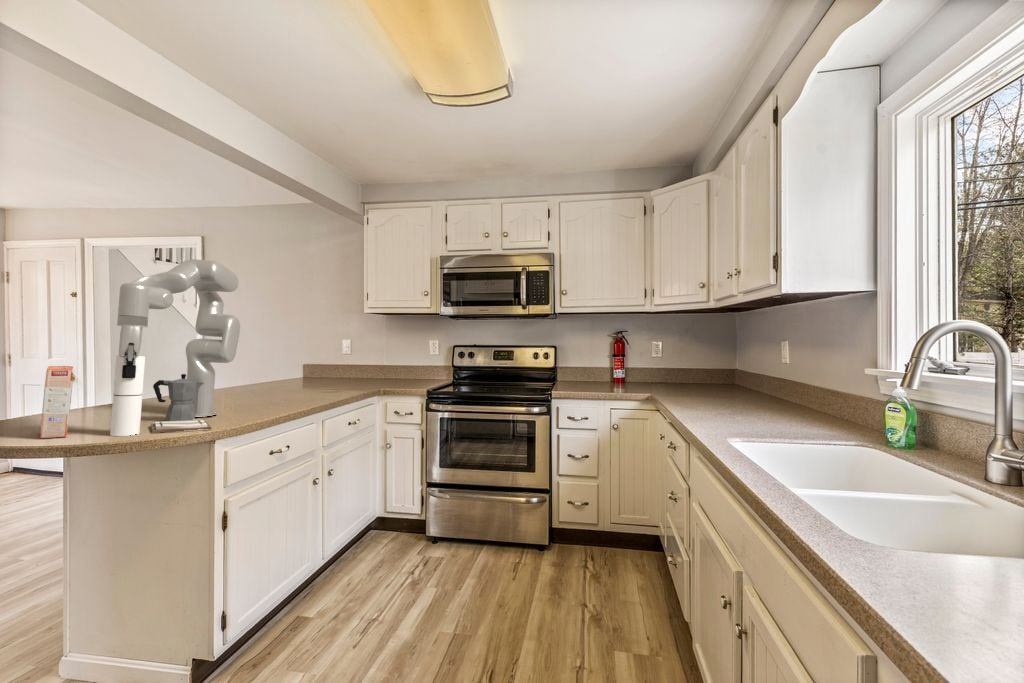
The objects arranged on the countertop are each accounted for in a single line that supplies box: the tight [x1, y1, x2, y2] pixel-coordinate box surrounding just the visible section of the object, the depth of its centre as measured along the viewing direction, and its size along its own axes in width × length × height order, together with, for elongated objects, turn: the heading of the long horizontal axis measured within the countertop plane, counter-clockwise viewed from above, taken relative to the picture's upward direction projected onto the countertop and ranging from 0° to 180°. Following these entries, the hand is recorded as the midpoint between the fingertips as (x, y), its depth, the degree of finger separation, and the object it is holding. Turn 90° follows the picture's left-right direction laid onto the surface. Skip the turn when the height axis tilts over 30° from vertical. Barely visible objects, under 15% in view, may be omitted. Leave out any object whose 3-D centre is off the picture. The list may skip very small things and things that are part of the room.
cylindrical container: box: [109, 355, 146, 437], centre depth 143 cm, size 7×7×25 cm
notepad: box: [150, 419, 212, 434], centre depth 157 cm, size 14×16×2 cm
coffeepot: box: [152, 373, 204, 421], centre depth 169 cm, size 15×9×18 cm, turn 129°
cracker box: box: [39, 365, 74, 439], centre depth 138 cm, size 14×6×21 cm, turn 44°
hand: (128, 376), depth 143 cm, fingers closed on cylindrical container, 7 cm apart
